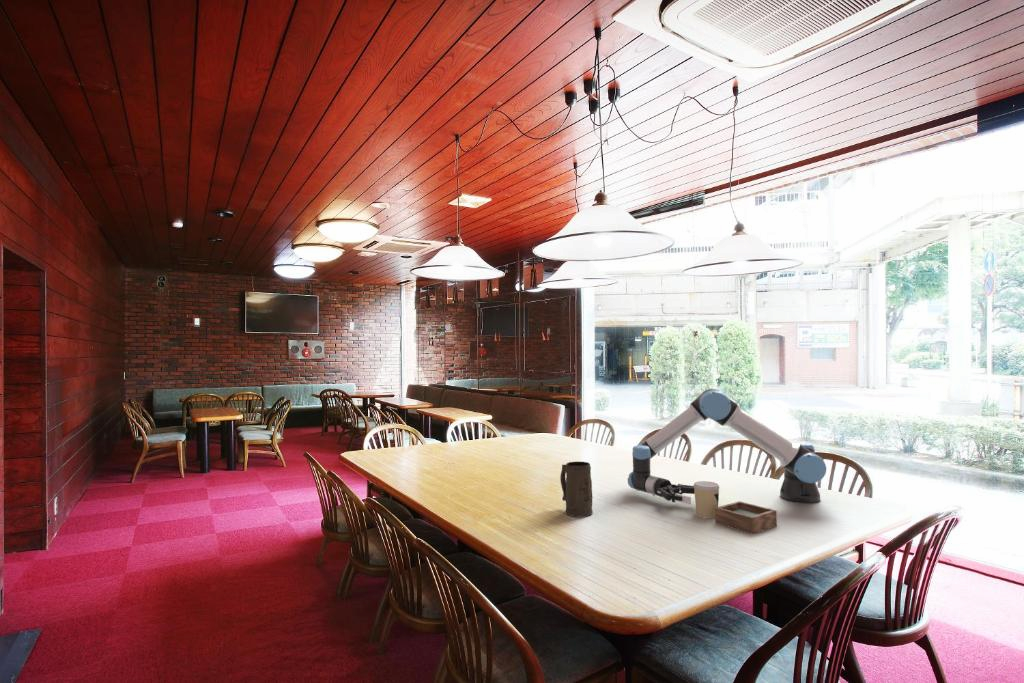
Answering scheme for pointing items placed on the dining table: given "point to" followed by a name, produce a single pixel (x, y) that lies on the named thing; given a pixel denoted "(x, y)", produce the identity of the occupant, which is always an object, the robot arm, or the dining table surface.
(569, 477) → the beer stein
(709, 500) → the coffee cup
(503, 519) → the dining table surface
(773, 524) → the wooden tray
